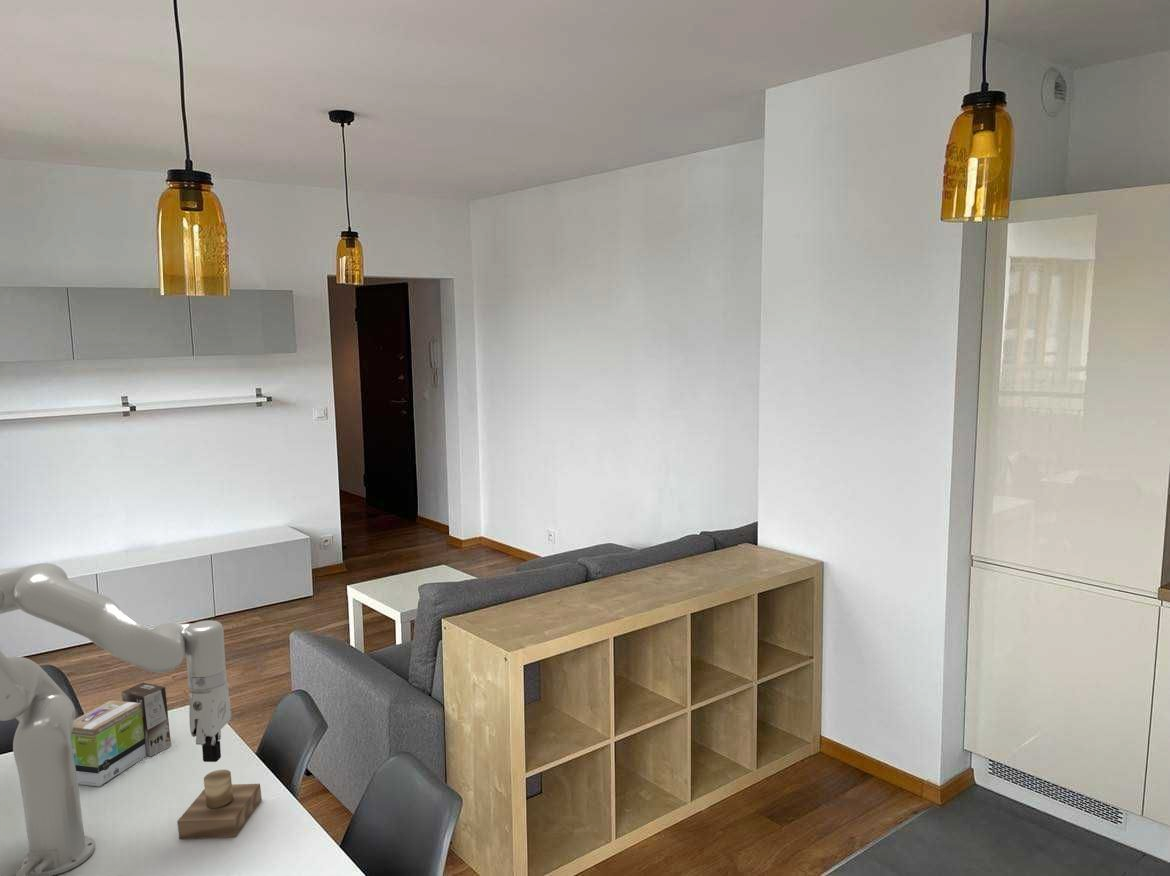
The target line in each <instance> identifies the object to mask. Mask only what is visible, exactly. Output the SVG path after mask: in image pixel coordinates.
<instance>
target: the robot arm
mask: <svg viewBox="0 0 1170 876" xmlns="http://www.w3.org/2000/svg"><path fill="white" fill-rule="evenodd" d="M68 578H69V577H68V575H67V573H66V571H65V570H64V569H63V568H61V567H60V566H58V565H57V564H53V563H48V562H46V563H43V562H42V563H36V564H30V565H25V566H23V567H18V568H14V569H9V570H5V571H0V615H1V614H5V613H9V612H12V611H17V610H20V611H22V612H24V613H26V614H28V615H30V616H32V617H35V618H37V619H40V620H42V621H45V622H48V623H50V624H52V625H55V626H58V627H59V628H63V629H64V630H65V629H66V630H67V631H70V632H72V633H75V634H77V635H80V636H82V637H84V638H86V639H88V640H90V642H92V643H93V644H94V645H96V646H98V647H100V648H101V649H102V650H104V651H106V652H108V654H110V655H112V656H114V657H115V658H117V659H119V660H121V661H123V662H125V663H128V664H130V665H133V666H135V667H137V668H141V669H143V670H146V671H148V672H152V673H156V674H157V673H158V674H166V673H167V674H168V673H170V672H172V671H175V670H176V669H177V668H178V667H180V666H181V664H182V663H183V661H184V659H185V657H186V669H187V670H186V672H187V683H188V684H187V687H188V691H190V692H189V730H190V735H191V737H193V738H195V744H196V745H198V746H199V745H200V746H201V749H202V750H201V751H202V761H203V762H205V763H216V762H218V761H219V760H220V759H221V758H222V753H221V741H220V740H221V737H222V736H221V735H222V729H223V728H224V727H225V726H226V725H227V724H228V723H229V722H230V721H231V718H232V708H231V707H232V706H231V700H230V699H231V697H230V691H229V686H228V682H227V668H226V653H225V633H224V626H223V625H222V623H221V622H219V621H218V620H210V619H209V620H200V621H196V622H193V623H177V622H176V623H173V622H172V623H161V624H159V625H156V626H155V627H153V628H152V629H149V628H147V627H144V626H142V625H141V624H139V623H138V622H136V621H134V619H131V617H129V616H128V615H127V614H126V613H125V612H124V611H123V610H122V609H121V607H120V606H119V604H118V603H116V601H114V600H113V599H112V598H110V597H108V596H106V595H103V594H101V593H99V592H96V591H94V590H91V589H90V588H86V587H84V586H83V585H79V584H78V583H76V582H73V581H70V580H69V579H68ZM14 719H16V720H17V721H18V725H17V728H16V730H15V733H14V737H13V742H12V751H13V752H12V753H13V758H14V761H15V764H16V765H15V766H16V769H17V773H18V778H19V785H20V791H21V792H20V793H21V797H22V804H23V813H24V819H25V820H24V821H25V826H26V834H27V841H28V849H29V851H28V852H27V855H26V857H25V858H24V859H23V861H22V863H21V864H22V865H21V868H19V870H18V871H17V872H16V874H15V875H16V876H56V875H58V874H59V875H60V874H63V873H65V872H67V871H70V870H72V869H74V868H75V867H78V866H80V865H81V864H82V863H84V862H85V861H86V860H88V859H89V857H91V856H92V854H93V853H94V851H95V848H96V847H95V841H94V839H93V838H92V837H90V836H88V835H85V829H84V822H83V813H82V805H81V797H80V790H79V789H80V787H79V784H78V780H77V774H76V766H75V760H74V755H73V750H72V743H71V733H72V729H73V724H74V721H75V719H76V708H75V706H74V703H73V701H72V700H71V698H69V696H68V695H67V694H66V692H64V691H63V690H62V688H61V687H59V685H58V684H57V683H56V682H55V681H54V680H53V678H51V677H50V675H48V673H47V672H46V671H45V670H44V669H43V668H42V667H41V666H40V665H39V664H38V663H36V662H35V661H33V660H31V659H30V658H27V657H22V656H10V657H7V656H6V655H5V654H4V653H3V652H2V650H1V649H0V721H5V722H6V721H10V720H14Z"/></svg>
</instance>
